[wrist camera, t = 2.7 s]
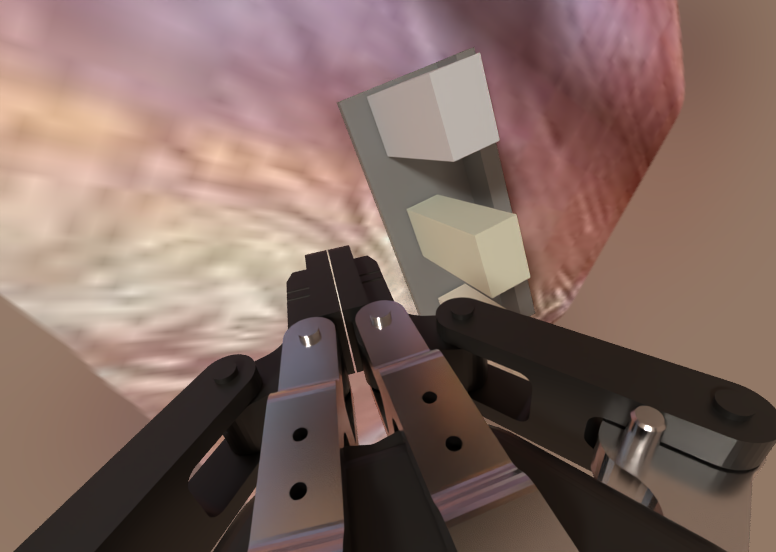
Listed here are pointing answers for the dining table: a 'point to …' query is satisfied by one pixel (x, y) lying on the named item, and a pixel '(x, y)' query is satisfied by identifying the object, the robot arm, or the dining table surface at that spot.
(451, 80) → the tile three
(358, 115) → the tile stand
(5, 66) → the dining table surface
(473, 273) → the tile two
